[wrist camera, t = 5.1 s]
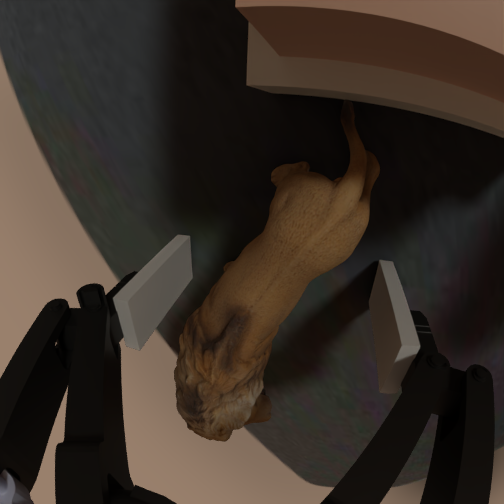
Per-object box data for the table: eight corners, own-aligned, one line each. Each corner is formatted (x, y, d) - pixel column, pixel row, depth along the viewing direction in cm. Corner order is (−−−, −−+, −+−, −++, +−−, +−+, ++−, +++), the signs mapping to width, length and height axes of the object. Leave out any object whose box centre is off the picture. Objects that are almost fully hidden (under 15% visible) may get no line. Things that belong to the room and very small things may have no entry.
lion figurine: (281, 344, 19) (250, 468, 12) (205, 313, 20) (142, 424, 12) (395, 124, 12) (490, 150, 4) (290, 77, 12) (241, 31, 5)
